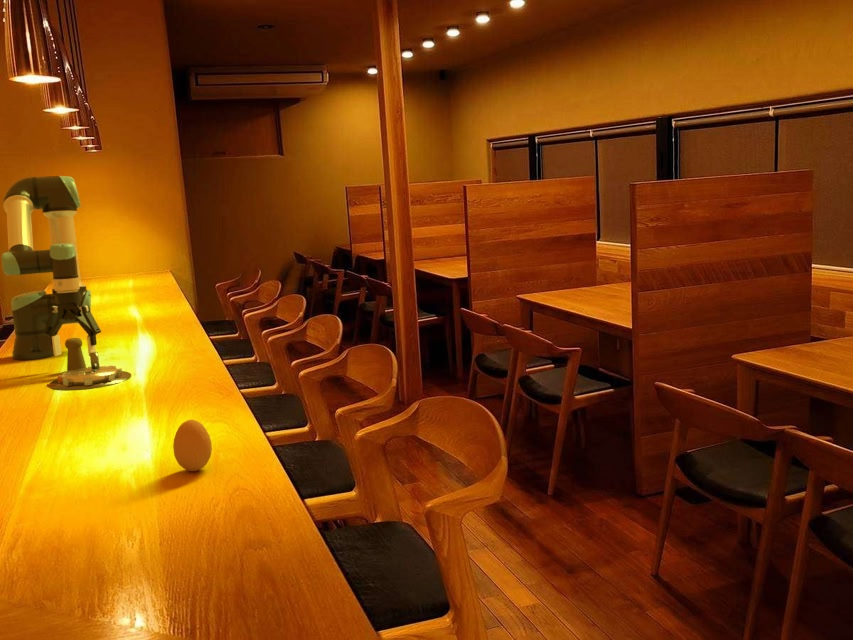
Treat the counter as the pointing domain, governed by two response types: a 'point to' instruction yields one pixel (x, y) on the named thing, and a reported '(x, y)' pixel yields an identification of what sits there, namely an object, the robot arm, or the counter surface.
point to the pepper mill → (74, 354)
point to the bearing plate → (60, 386)
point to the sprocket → (90, 373)
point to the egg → (192, 445)
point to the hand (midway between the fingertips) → (75, 355)
